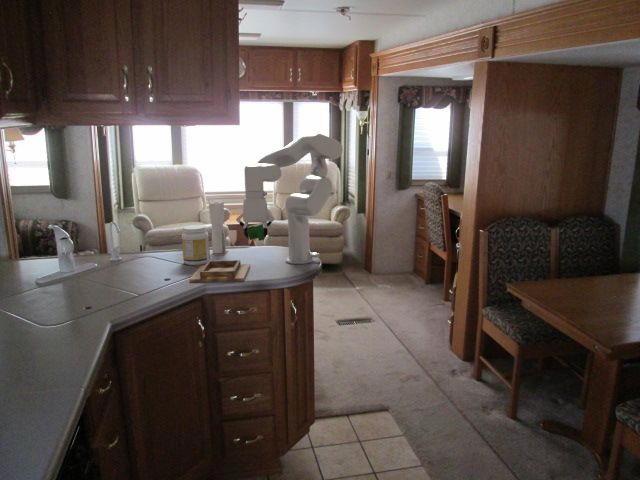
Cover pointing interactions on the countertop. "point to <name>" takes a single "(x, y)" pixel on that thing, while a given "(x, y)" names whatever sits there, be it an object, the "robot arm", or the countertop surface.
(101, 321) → the countertop surface
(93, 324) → the countertop surface
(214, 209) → the skyscraper
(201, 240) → the supplement tub
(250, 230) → the clamp
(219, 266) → the brown shallow square tray
